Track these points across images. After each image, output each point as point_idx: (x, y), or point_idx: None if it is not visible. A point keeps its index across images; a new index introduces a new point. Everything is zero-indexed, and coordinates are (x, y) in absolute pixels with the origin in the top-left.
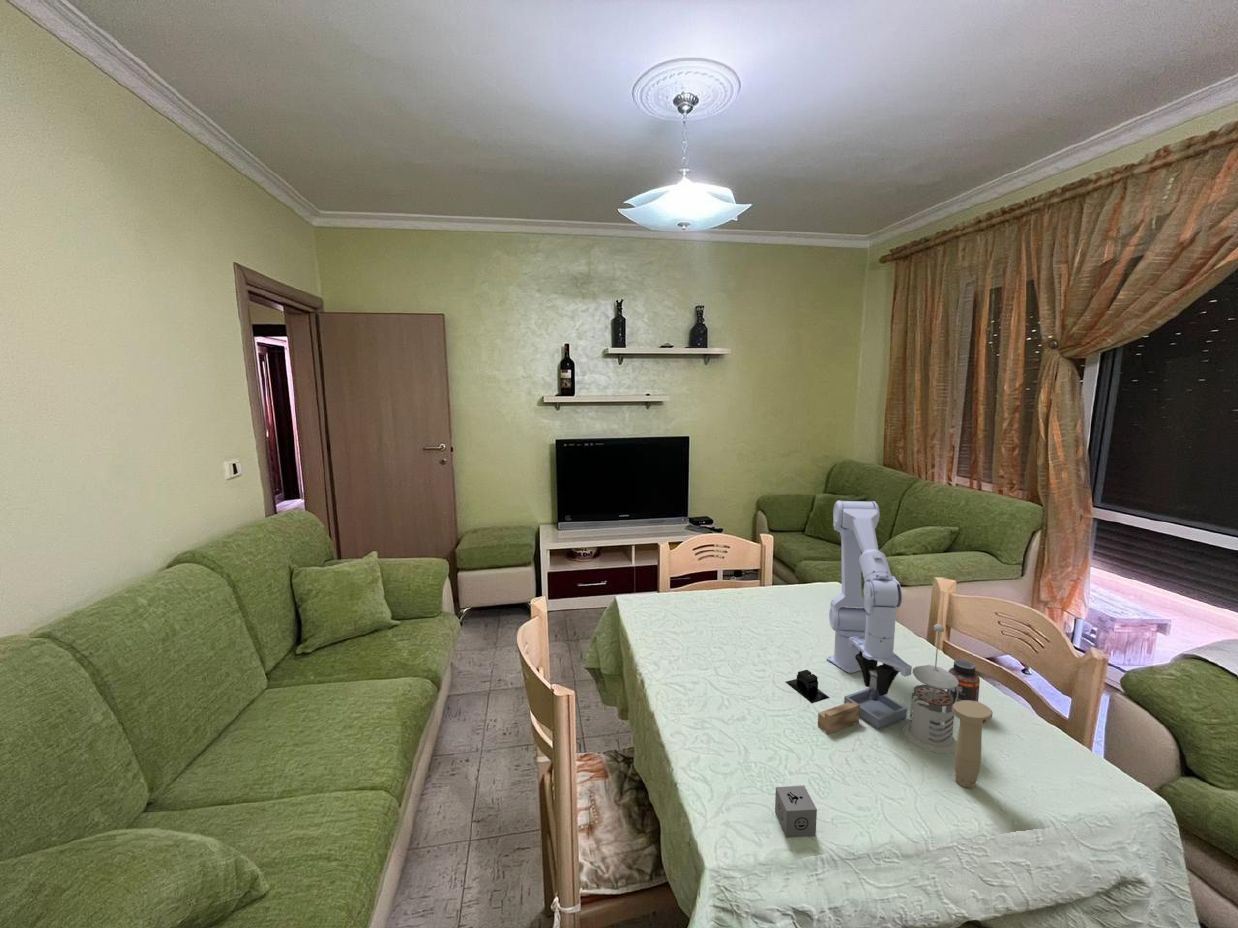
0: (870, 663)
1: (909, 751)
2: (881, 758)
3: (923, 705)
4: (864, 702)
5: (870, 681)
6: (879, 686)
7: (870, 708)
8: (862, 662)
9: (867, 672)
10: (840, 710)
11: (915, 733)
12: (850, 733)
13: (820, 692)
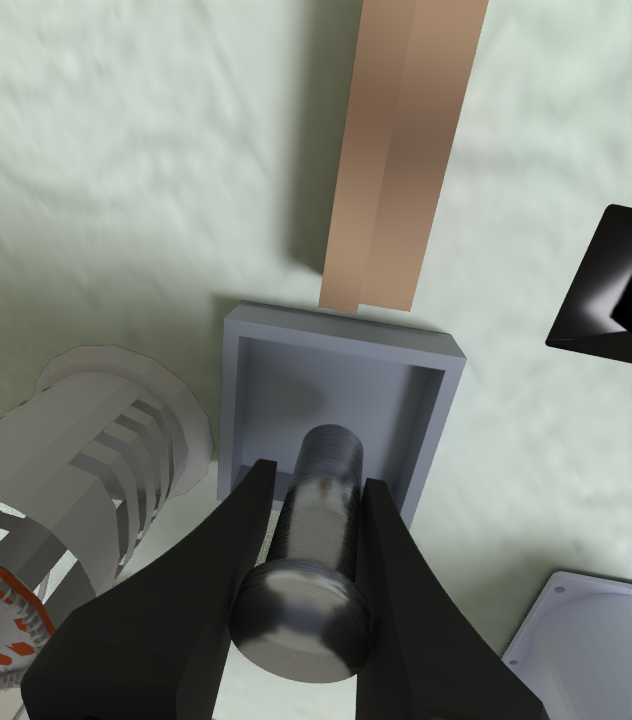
0: (374, 694)
1: (84, 279)
2: (87, 100)
3: (138, 542)
4: (391, 429)
5: (335, 512)
6: (247, 497)
7: (347, 409)
8: (418, 673)
9: (377, 577)
10: (362, 101)
11: (111, 383)
12: (298, 145)
13: (610, 339)
